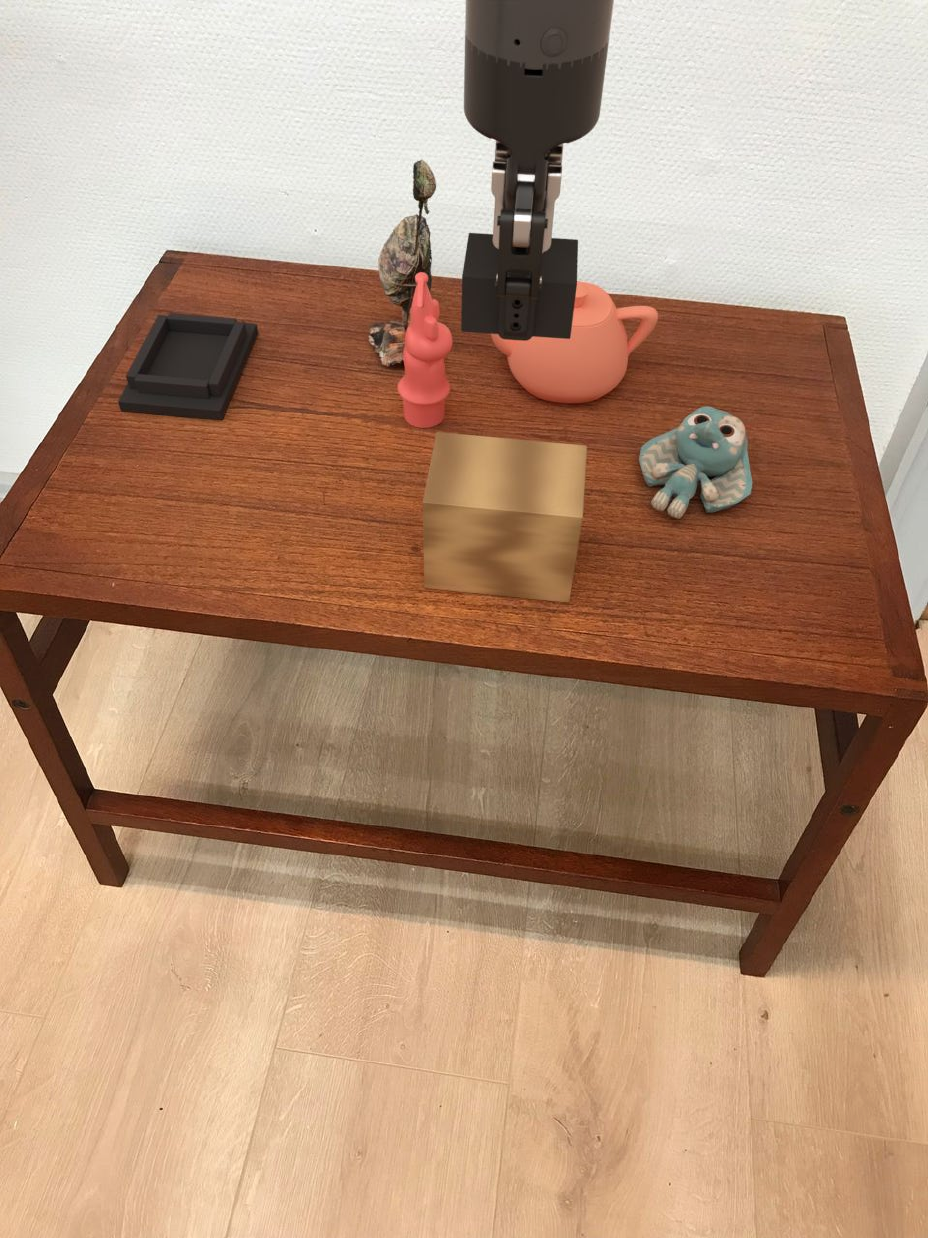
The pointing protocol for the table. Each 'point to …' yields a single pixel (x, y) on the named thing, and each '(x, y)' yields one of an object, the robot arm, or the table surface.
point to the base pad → (188, 366)
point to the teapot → (579, 350)
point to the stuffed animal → (699, 462)
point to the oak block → (503, 516)
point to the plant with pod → (404, 267)
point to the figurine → (425, 361)
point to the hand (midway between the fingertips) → (517, 310)
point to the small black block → (552, 301)
